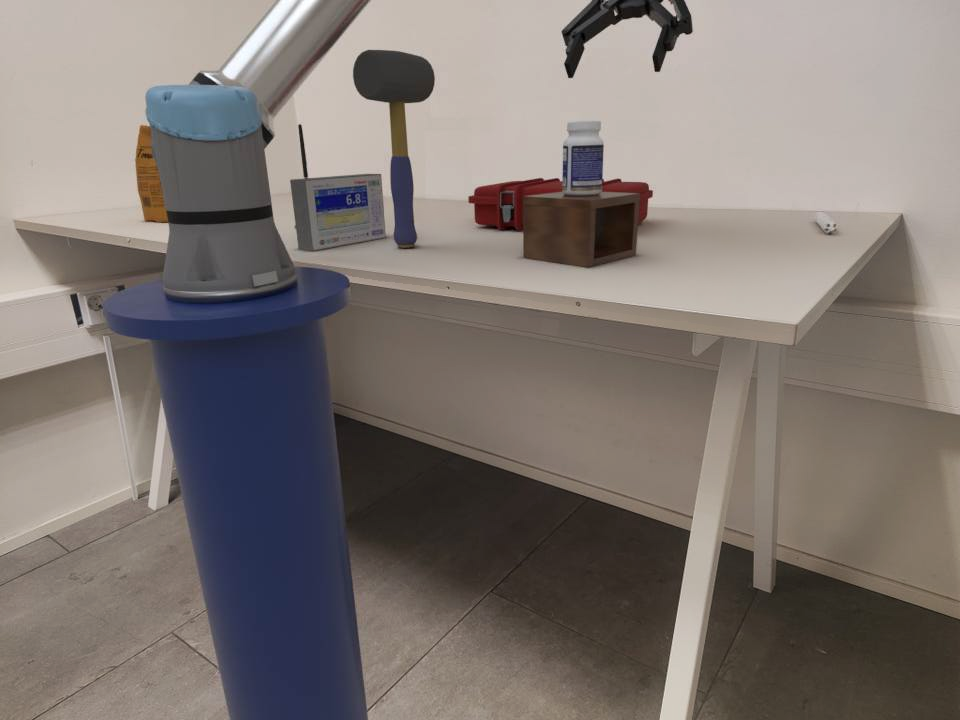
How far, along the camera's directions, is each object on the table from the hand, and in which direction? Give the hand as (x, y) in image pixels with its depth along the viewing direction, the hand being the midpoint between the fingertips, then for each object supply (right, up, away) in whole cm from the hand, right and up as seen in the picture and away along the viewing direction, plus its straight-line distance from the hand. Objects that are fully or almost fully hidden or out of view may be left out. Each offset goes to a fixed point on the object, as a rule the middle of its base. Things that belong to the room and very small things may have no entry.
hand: (610, 67), depth 93 cm
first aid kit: (-3, -16, +34) cm, 38 cm away
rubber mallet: (-32, -25, +12) cm, 42 cm away
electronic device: (-45, -23, +19) cm, 54 cm away
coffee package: (-95, -10, +60) cm, 113 cm away
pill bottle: (-5, -20, -3) cm, 21 cm away
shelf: (-5, -28, 0) cm, 29 cm away
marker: (+44, -20, +21) cm, 52 cm away
